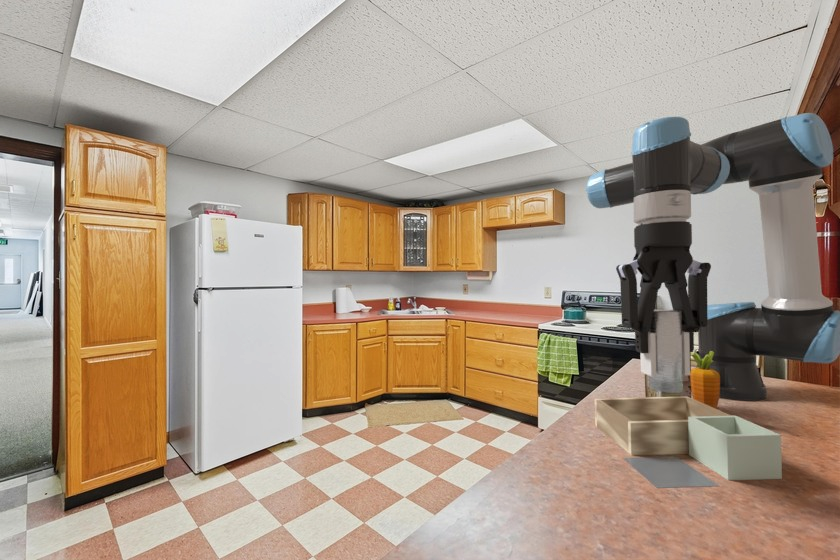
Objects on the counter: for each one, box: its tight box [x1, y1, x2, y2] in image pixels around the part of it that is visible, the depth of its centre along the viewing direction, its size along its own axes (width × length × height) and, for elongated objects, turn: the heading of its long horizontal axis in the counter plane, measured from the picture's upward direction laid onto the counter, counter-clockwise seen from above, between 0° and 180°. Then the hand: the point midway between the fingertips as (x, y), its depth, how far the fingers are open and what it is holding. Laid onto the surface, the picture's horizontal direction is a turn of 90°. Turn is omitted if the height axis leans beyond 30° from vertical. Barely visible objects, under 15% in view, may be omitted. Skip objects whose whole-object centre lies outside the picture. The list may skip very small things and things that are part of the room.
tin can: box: [648, 309, 683, 393], centre depth 59 cm, size 5×5×12 cm
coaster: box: [622, 456, 720, 489], centre depth 59 cm, size 9×9×1 cm
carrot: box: [690, 351, 720, 410], centre depth 78 cm, size 5×5×15 cm
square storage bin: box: [688, 415, 783, 481], centre depth 60 cm, size 8×8×7 cm
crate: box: [594, 396, 732, 456], centre depth 71 cm, size 19×13×6 cm
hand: (664, 373), depth 59 cm, fingers closed on tin can, 4 cm apart
